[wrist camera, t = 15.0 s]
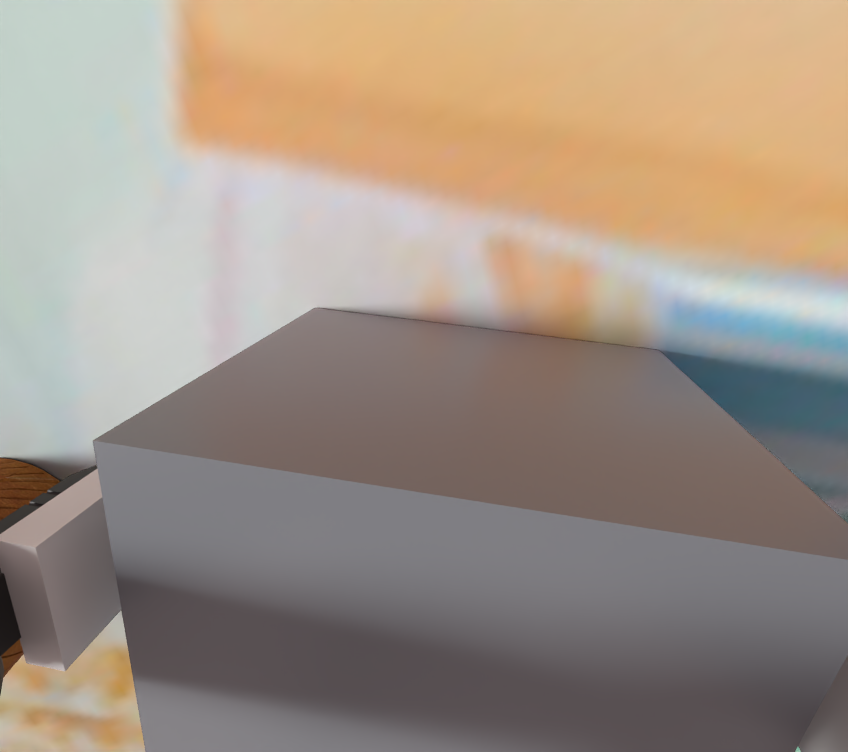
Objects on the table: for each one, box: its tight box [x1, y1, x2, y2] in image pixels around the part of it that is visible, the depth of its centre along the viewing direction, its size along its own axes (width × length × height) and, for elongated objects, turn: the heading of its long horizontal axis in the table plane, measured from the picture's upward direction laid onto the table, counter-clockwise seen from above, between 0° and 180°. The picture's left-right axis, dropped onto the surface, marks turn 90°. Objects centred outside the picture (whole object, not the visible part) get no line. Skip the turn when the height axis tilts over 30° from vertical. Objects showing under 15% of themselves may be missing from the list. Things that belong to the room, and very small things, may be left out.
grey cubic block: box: [93, 308, 848, 752], centre depth 12 cm, size 10×10×9 cm
